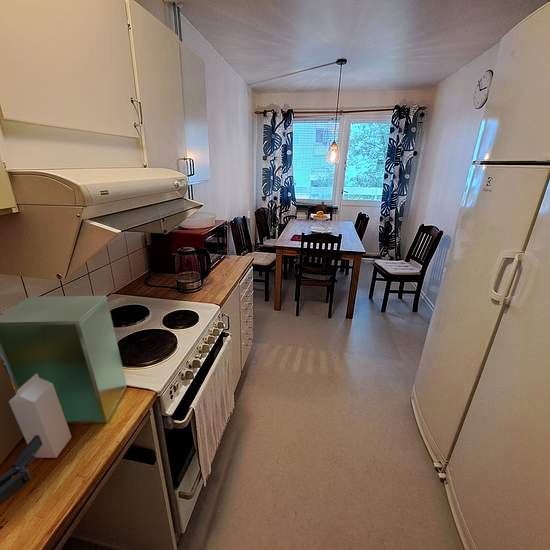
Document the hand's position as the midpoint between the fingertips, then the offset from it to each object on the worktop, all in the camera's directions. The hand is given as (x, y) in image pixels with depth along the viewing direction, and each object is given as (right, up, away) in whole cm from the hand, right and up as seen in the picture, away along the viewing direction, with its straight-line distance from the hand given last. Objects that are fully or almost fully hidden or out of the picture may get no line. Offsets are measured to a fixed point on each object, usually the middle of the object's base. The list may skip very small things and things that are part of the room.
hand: (5, 441), depth 61 cm
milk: (-1, -10, +14) cm, 17 cm away
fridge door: (-14, -11, +9) cm, 20 cm away
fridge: (-2, -5, +27) cm, 28 cm away
